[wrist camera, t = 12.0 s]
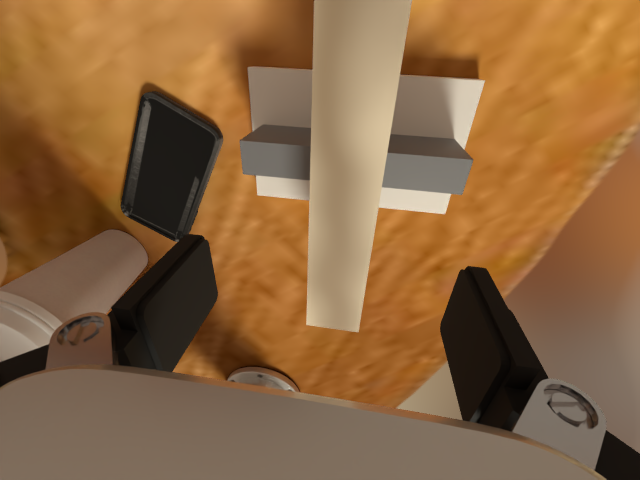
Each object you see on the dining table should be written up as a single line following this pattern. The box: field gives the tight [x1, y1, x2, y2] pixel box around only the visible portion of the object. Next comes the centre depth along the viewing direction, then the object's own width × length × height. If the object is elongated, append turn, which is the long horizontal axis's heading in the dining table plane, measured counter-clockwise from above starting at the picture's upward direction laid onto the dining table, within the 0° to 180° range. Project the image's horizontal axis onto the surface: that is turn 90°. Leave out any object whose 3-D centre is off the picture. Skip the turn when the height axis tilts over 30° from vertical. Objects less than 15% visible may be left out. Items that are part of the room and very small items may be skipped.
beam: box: [307, 0, 412, 332], centre depth 19 cm, size 4×22×5 cm, turn 177°
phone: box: [121, 91, 223, 242], centre depth 32 cm, size 8×1×15 cm
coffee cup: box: [0, 230, 148, 362], centre depth 32 cm, size 10×10×15 cm
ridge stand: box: [240, 66, 485, 214], centre depth 24 cm, size 11×18×7 cm, turn 88°
